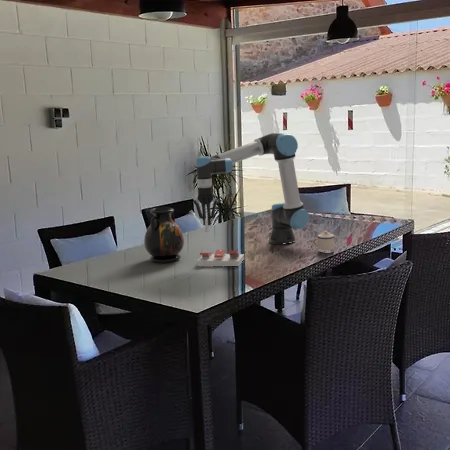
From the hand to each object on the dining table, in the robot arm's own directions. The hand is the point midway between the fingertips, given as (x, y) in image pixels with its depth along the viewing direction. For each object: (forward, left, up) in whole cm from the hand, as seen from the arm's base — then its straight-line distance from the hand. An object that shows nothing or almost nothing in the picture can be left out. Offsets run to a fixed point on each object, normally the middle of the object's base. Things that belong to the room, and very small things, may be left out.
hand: (207, 231), depth 307 cm
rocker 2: (-7, +3, -13) cm, 15 cm away
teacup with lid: (-58, -24, -17) cm, 65 cm away
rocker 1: (+1, +4, -13) cm, 14 cm away
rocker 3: (-14, +5, -13) cm, 20 cm away
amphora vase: (+25, -2, -17) cm, 30 cm away
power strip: (-7, +2, -17) cm, 18 cm away
